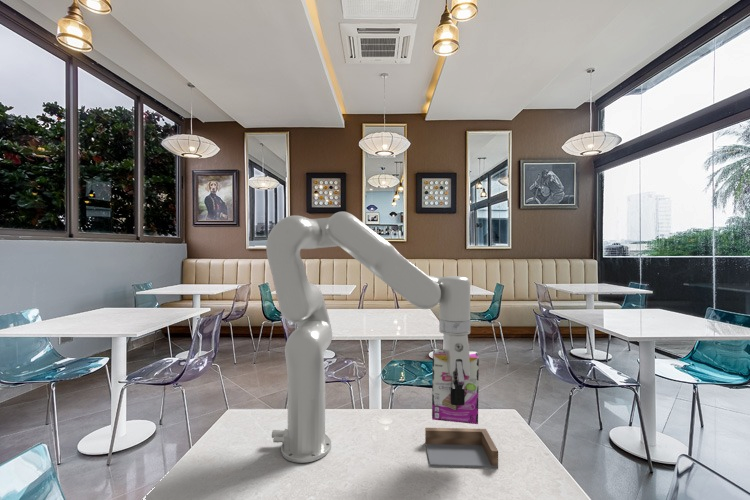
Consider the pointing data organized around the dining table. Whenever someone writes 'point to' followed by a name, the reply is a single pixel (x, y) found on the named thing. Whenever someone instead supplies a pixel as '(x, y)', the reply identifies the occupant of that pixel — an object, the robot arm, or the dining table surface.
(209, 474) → the dining table surface
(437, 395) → the candy bar box
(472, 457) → the slate mat
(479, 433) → the walnut corner walls
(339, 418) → the dining table surface
